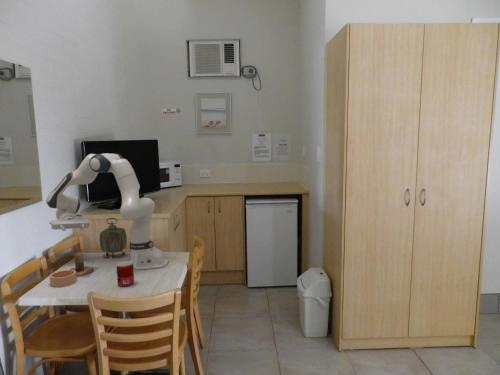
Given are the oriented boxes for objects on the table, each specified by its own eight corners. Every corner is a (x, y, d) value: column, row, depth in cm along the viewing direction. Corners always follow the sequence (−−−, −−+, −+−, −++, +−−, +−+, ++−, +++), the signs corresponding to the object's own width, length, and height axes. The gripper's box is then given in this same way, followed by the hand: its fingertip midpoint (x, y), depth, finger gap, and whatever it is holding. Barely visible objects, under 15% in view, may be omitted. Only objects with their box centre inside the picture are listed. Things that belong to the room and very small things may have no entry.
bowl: (80, 278, 192) (79, 269, 191) (70, 287, 180) (69, 277, 179) (57, 279, 191) (56, 270, 191) (45, 288, 180) (44, 278, 179)
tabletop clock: (127, 254, 234) (125, 216, 231) (123, 258, 225) (120, 219, 222) (105, 254, 234) (102, 216, 231) (99, 259, 225) (96, 219, 222)
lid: (97, 267, 208) (96, 249, 207) (87, 276, 194) (86, 256, 193) (72, 268, 207) (71, 249, 206) (61, 277, 193) (59, 257, 192)
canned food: (137, 282, 185) (136, 261, 184) (126, 288, 178) (124, 266, 176) (126, 280, 188) (124, 259, 187) (114, 285, 181) (113, 264, 180)
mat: (100, 267, 209) (100, 266, 209) (88, 277, 193) (88, 276, 193) (72, 268, 208) (71, 267, 208) (58, 278, 192) (58, 277, 192)
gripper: (48, 216, 211) (53, 224, 200) (86, 215, 224) (92, 222, 214) (48, 226, 212) (53, 235, 202) (85, 224, 225) (91, 232, 215)
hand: (73, 228), depth 208 cm, fingers open, 8 cm apart
